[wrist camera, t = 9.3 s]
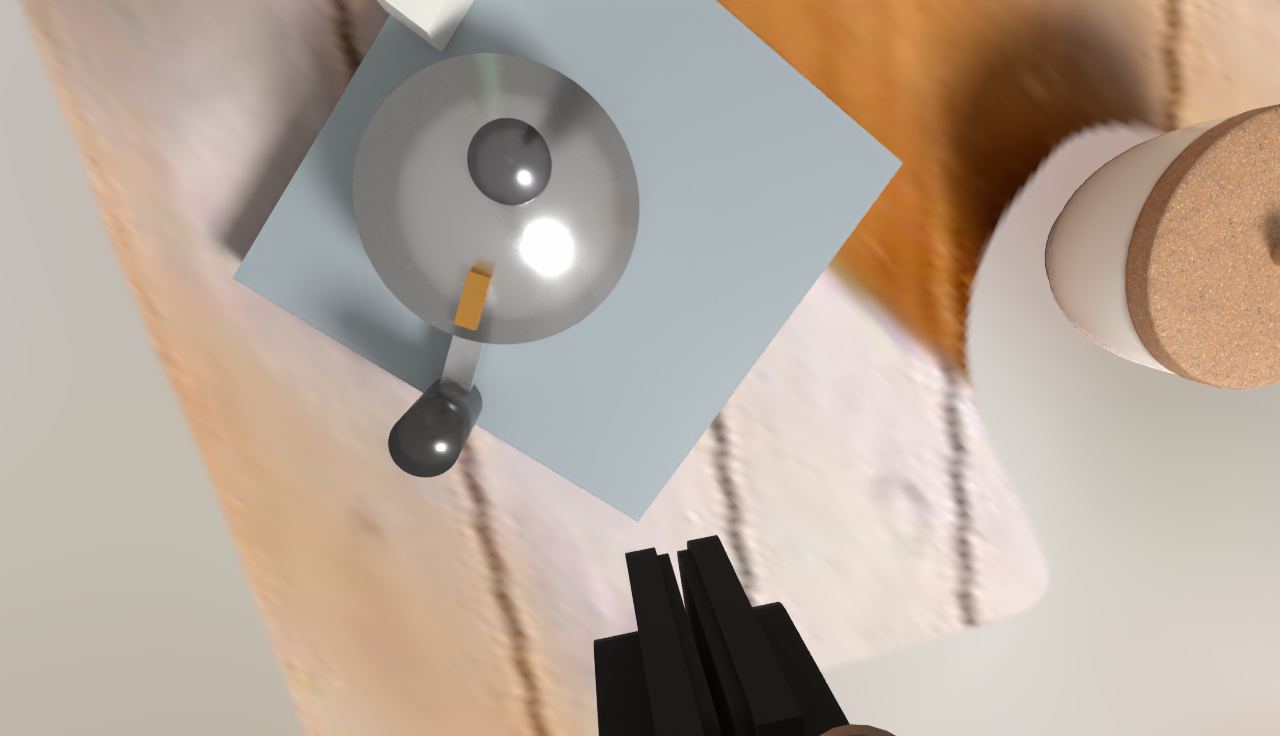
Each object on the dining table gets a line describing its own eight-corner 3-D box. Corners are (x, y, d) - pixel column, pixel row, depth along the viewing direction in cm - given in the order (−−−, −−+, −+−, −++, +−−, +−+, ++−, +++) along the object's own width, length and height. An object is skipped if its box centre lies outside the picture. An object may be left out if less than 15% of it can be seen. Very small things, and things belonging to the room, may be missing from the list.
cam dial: (415, 34, 22) (369, -24, 17) (664, 130, 24) (689, 102, 19) (327, 396, 25) (265, 437, 20) (557, 458, 26) (554, 511, 21)
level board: (253, 272, 25) (159, 283, 20) (507, -151, 23) (486, -280, 17) (633, 503, 30) (648, 568, 24) (879, 167, 28) (962, 150, 22)
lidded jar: (1151, 367, 32) (1386, 422, 22) (973, 332, 30) (1148, 376, 21) (1229, 161, 29) (1523, 129, 20) (1042, 112, 28) (1270, 53, 19)
